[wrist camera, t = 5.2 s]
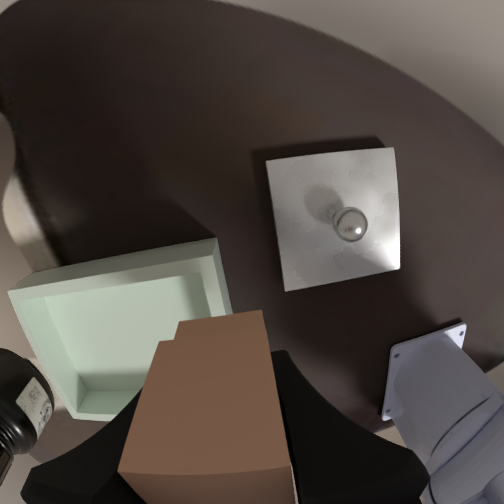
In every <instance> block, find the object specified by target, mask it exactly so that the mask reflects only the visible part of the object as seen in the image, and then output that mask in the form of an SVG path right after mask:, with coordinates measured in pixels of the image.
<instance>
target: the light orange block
mask: <svg viewBox="0 0 504 504" xmlns="http://www.w3.org/2000/svg"><path fill="white" fill-rule="evenodd" d="M118 473H119V474H120V475H121V476H122V477H123V478H124V480H125V481H126V482H127V483H128V484H129V485H130V486H131V487H132V489H133V490H134V491H135V492H136V493H137V494H138V495H139V496H140V497H141V498H142V499H143V500H144V501H145V502H146V503H147V504H295V495H294V487H293V479H292V471H291V464H290V459H289V453H288V448H287V442H286V437H285V431H284V425H283V420H282V414H281V409H280V403H279V398H278V392H277V387H276V381H275V376H274V370H273V365H272V359H271V354H270V348H269V343H268V337H267V332H266V327H265V324H264V318H263V313H262V310H256V311H250V312H243V313H236V314H230V315H223V316H215V317H208V318H200V319H193V320H185V321H179V323H178V326H177V330H176V333H175V336H174V340H165V341H159V343H158V345H157V348H156V351H155V354H154V357H153V360H152V362H151V365H150V368H149V371H148V374H147V377H146V380H145V383H144V386H143V389H142V392H141V395H140V398H139V401H138V404H137V407H136V410H135V414H134V417H133V420H132V423H131V426H130V430H129V433H128V436H127V439H126V443H125V446H124V450H123V453H122V456H121V460H120V463H119V467H118Z"/></svg>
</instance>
